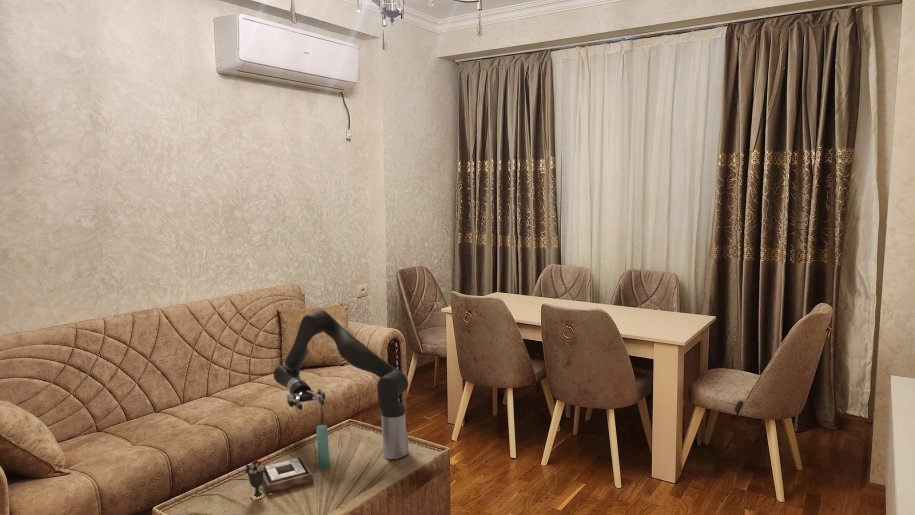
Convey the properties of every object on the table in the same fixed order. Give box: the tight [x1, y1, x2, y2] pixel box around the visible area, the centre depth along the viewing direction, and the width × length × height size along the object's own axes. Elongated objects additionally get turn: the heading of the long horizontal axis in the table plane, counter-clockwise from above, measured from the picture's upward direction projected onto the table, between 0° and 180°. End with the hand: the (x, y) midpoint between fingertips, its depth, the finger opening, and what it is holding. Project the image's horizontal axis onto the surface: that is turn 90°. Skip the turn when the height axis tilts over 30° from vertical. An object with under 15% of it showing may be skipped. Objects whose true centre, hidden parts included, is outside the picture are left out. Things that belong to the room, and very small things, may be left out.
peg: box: [315, 424, 330, 470], centre depth 237 cm, size 4×4×16 cm
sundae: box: [244, 454, 266, 497], centre depth 218 cm, size 7×7×15 cm
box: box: [262, 455, 314, 495], centre depth 230 cm, size 16×16×4 cm
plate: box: [265, 457, 306, 484], centre depth 230 cm, size 12×12×3 cm
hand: (312, 405), depth 243 cm, fingers open, 8 cm apart
